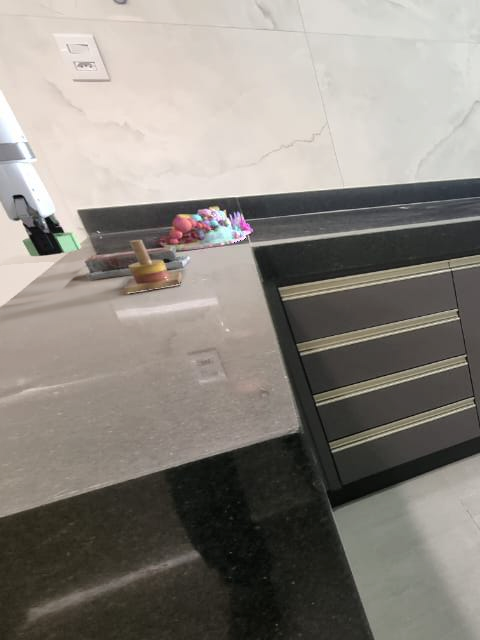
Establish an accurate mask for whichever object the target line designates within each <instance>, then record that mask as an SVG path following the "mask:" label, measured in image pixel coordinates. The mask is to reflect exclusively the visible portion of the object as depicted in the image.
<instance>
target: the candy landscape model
mask: <svg viewBox="0 0 480 640" xmlns="http://www.w3.org/2000/svg"><path fill="white" fill-rule="evenodd" d="M227 216H228V215H227V210H226V209H224V210H220V207H219V206H218V205H215V206H210V207H208V208H202V209H198V210H197V213H196V214H189V213H187V214H186V213H185V214H184V213H181V214H176V215H175V217H174V218H173V220H172V223H171V224H172V226H171V227H170V231H169V235H163V236H162V237H160V238H158V239H157V241H156V242H155V243H156V244H157V245H160V246H161V247H163V248H165V247H175V248H176V252H178V251H189V250H201V249H207V248H214V247H220V246H225V245H230V244H231V245H232V244H234V242H235V243H238V242H241V241H244V239H245V238H246V239H247V236H248V235H250V234H252V233H254V230H253V228H251V225H250V224H249V223H248V222H246V221H245V218H244V215H243V213H240V211H237V212H235V211H233V215H232V214H229V217H227ZM233 216H234V217H233ZM246 239H245V240H246ZM240 240H241V241H240ZM237 241H238V242H237Z"/></svg>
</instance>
